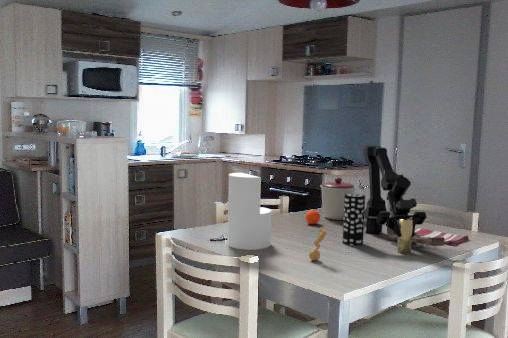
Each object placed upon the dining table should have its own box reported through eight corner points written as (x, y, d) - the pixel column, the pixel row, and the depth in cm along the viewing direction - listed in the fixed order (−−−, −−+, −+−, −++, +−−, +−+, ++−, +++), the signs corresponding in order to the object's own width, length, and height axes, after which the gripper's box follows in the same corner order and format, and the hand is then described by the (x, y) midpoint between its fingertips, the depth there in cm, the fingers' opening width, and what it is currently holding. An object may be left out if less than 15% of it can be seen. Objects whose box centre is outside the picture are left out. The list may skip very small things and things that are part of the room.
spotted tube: (364, 242, 216) (366, 194, 213) (361, 246, 208) (363, 197, 206) (344, 240, 218) (346, 193, 216) (340, 244, 210) (342, 195, 208)
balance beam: (387, 236, 220) (386, 219, 220) (396, 235, 222) (396, 219, 222) (433, 246, 193) (433, 227, 193) (444, 245, 195) (444, 226, 195)
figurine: (313, 257, 191) (314, 225, 190) (329, 259, 188) (330, 227, 187) (304, 262, 184) (306, 229, 182) (320, 265, 181) (322, 231, 179)
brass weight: (397, 253, 199) (398, 220, 197) (398, 250, 203) (400, 217, 202) (410, 254, 197) (412, 221, 195) (411, 251, 202) (413, 218, 200)
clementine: (301, 224, 247) (302, 210, 246) (305, 222, 253) (306, 207, 253) (317, 226, 244) (318, 211, 243) (321, 223, 251) (322, 209, 250)
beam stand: (390, 243, 213) (391, 231, 213) (411, 242, 217) (411, 230, 216) (403, 248, 206) (403, 235, 205) (423, 246, 209) (424, 234, 209)
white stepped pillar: (239, 251, 196) (240, 178, 193) (220, 241, 212) (221, 173, 209) (278, 247, 204) (280, 176, 201) (258, 237, 219) (259, 171, 217)
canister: (315, 214, 273) (316, 175, 270) (348, 214, 275) (350, 175, 272) (323, 221, 255) (325, 179, 252) (359, 221, 257) (361, 179, 254)
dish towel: (453, 247, 212) (454, 241, 212) (400, 237, 228) (401, 231, 228) (469, 240, 225) (469, 234, 224) (417, 231, 240) (418, 225, 240)
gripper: (380, 191, 200) (389, 225, 191) (426, 191, 203) (437, 225, 193) (372, 207, 209) (380, 241, 199) (416, 207, 211) (427, 240, 202)
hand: (406, 236), depth 198 cm, fingers closed on brass weight, 5 cm apart
